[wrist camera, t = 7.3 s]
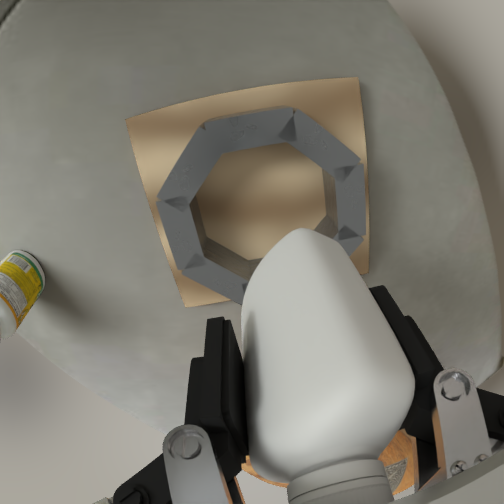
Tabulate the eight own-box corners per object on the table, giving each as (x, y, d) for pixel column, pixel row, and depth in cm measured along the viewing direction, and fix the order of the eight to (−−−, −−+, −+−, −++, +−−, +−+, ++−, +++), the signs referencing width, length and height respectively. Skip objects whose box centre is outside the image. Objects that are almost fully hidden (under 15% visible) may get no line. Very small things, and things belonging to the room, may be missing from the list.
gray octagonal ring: (150, 133, 19) (132, 143, 15) (341, 99, 18) (364, 101, 15) (197, 291, 25) (193, 323, 22) (352, 261, 25) (369, 289, 21)
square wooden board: (130, 117, 19) (125, 119, 18) (351, 77, 19) (358, 77, 18) (187, 299, 27) (185, 307, 26) (363, 265, 27) (368, 273, 25)
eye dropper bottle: (363, 282, 14) (481, 535, 3) (263, 341, 15) (292, 592, 4) (318, 209, 12) (491, 554, 1) (205, 283, 13) (185, 603, 3)
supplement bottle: (32, 243, 23) (-25, 305, 15) (55, 290, 26) (12, 359, 18) (-1, 253, 23) (-53, 311, 15) (22, 296, 26) (-20, 358, 18)
